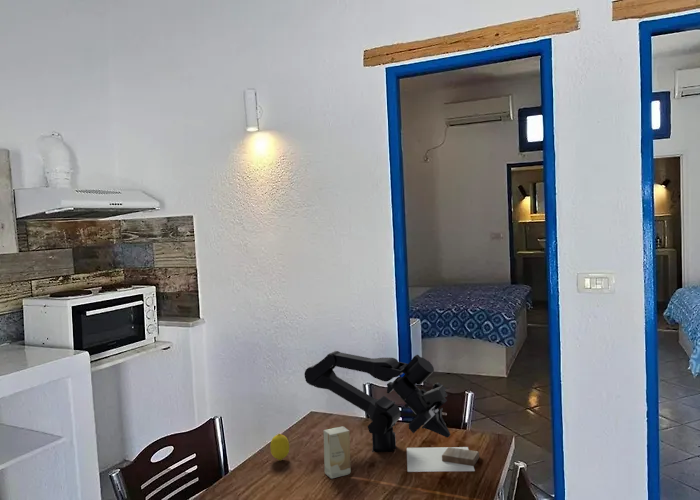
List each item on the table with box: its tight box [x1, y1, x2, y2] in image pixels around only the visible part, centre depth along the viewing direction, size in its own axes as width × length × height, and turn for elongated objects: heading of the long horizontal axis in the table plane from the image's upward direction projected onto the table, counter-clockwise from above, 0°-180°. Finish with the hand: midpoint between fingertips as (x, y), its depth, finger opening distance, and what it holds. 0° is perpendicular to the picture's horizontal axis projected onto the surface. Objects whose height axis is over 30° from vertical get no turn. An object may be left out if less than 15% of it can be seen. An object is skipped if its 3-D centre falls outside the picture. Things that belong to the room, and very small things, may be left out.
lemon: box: [270, 433, 290, 462], centre depth 167 cm, size 6×6×8 cm
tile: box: [442, 446, 480, 467], centre depth 161 cm, size 2×6×9 cm
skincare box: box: [323, 425, 352, 479], centre depth 156 cm, size 6×4×12 cm
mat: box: [406, 446, 476, 473], centre depth 162 cm, size 18×16×1 cm
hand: (449, 436), depth 162 cm, fingers closed
